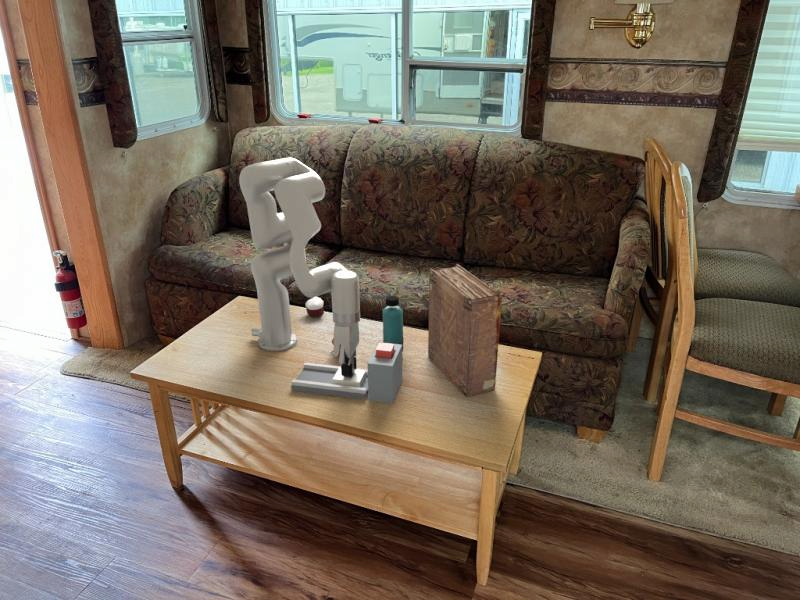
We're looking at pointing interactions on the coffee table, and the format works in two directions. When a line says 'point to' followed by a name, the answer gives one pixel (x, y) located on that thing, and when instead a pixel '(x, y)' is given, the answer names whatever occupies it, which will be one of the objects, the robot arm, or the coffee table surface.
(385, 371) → the button cabinet
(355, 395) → the rail bed
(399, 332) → the beverage bottle
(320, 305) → the cocoa
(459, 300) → the book
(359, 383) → the carriage
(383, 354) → the button
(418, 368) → the coffee table surface
